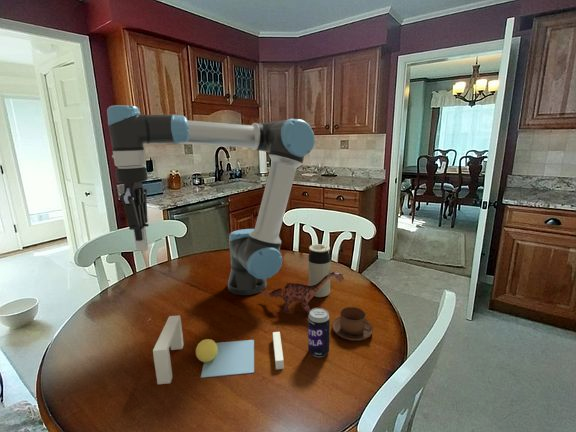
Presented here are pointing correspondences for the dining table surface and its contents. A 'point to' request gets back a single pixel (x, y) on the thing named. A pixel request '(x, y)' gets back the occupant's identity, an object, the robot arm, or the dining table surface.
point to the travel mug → (319, 268)
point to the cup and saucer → (352, 324)
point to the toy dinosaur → (301, 292)
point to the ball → (206, 350)
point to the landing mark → (231, 359)
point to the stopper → (278, 351)
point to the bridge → (167, 348)
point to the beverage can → (318, 332)
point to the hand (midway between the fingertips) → (142, 250)
